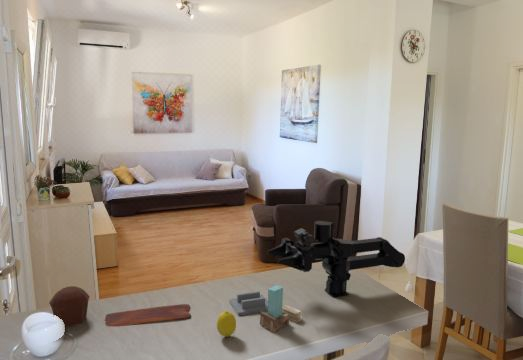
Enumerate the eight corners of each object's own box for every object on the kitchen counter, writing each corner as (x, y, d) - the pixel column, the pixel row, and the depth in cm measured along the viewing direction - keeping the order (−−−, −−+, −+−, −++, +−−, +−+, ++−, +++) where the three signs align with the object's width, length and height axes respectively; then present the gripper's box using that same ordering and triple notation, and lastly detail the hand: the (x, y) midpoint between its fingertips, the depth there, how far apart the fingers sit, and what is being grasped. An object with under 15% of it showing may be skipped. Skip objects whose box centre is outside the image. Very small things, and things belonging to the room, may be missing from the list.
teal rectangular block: (276, 321, 132) (277, 285, 130) (281, 323, 130) (282, 287, 128) (267, 325, 129) (268, 288, 127) (273, 328, 127) (274, 291, 125)
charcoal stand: (262, 297, 148) (262, 287, 148) (272, 310, 139) (273, 300, 138) (229, 302, 144) (229, 292, 144) (238, 315, 135) (238, 305, 134)
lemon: (237, 340, 120) (238, 314, 119) (218, 343, 119) (218, 317, 118) (233, 330, 126) (233, 305, 124) (215, 333, 124) (215, 308, 123)
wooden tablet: (189, 306, 142) (189, 301, 142) (192, 320, 132) (192, 315, 132) (106, 314, 135) (105, 309, 135) (102, 330, 126) (102, 324, 126)
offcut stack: (283, 312, 139) (283, 303, 138) (302, 320, 133) (302, 311, 133) (276, 315, 136) (277, 306, 136) (296, 324, 131) (296, 315, 130)
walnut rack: (275, 317, 134) (275, 305, 134) (289, 324, 130) (289, 312, 129) (259, 325, 129) (260, 312, 129) (274, 332, 125) (274, 319, 124)
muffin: (86, 327, 126) (84, 296, 124) (45, 330, 124) (43, 299, 122) (93, 309, 137) (91, 280, 136) (56, 311, 135) (54, 282, 133)
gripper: (303, 222, 154) (263, 226, 148) (328, 237, 137) (284, 242, 131) (302, 251, 156) (263, 256, 150) (327, 269, 139) (284, 275, 133)
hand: (273, 256), depth 141 cm, fingers open, 9 cm apart
